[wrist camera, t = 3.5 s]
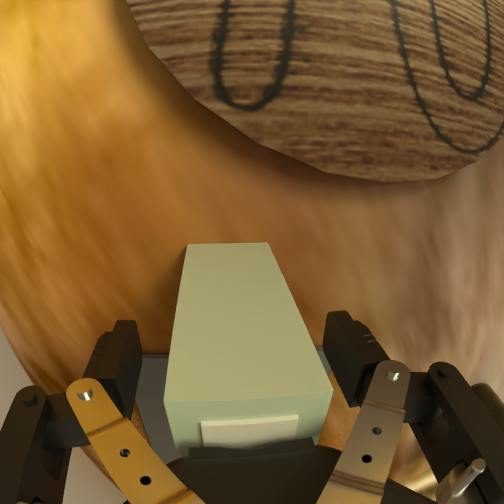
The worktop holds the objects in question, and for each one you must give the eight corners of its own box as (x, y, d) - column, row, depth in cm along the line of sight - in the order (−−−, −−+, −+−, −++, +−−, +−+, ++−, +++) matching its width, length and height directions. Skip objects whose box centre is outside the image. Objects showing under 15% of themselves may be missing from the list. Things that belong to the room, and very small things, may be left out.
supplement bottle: (455, 389, 24) (516, 474, 13) (495, 374, 25) (553, 444, 14) (430, 431, 27) (475, 510, 16) (470, 415, 28) (516, 482, 17)
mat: (124, 353, 18) (122, 357, 17) (332, 345, 19) (334, 349, 19) (165, 474, 24) (164, 478, 24) (300, 467, 25) (301, 470, 25)
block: (187, 244, 16) (162, 405, 6) (267, 242, 16) (335, 394, 7) (192, 312, 17) (184, 480, 8) (264, 310, 18) (310, 471, 8)
